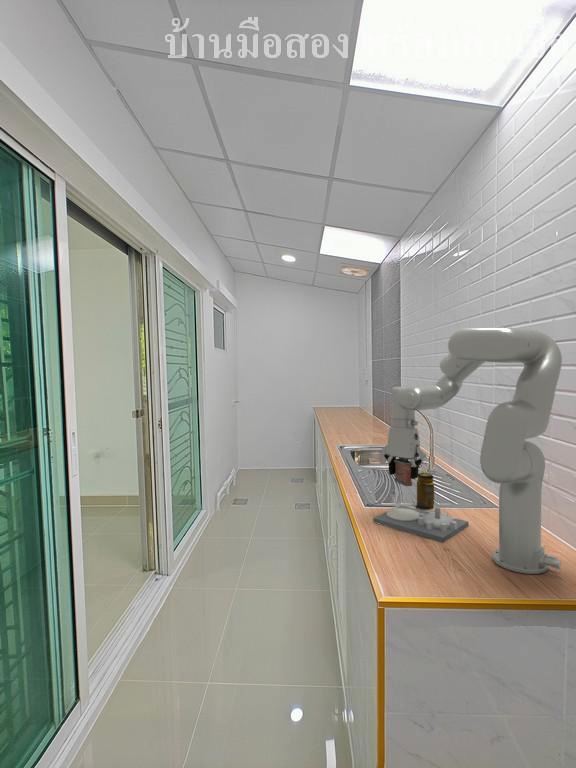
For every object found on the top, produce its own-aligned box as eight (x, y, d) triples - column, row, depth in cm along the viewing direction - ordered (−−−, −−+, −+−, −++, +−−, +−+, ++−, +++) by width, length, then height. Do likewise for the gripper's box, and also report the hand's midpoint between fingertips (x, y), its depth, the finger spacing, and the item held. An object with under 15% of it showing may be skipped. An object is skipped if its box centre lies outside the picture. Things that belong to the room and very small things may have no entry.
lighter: (414, 485, 137) (414, 455, 137) (405, 486, 136) (405, 455, 136) (401, 479, 145) (401, 450, 145) (392, 480, 144) (392, 451, 144)
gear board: (468, 526, 135) (468, 506, 134) (443, 542, 122) (442, 520, 122) (401, 509, 152) (401, 491, 152) (373, 522, 139) (372, 502, 139)
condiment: (433, 504, 157) (433, 472, 157) (437, 511, 149) (437, 478, 149) (413, 503, 159) (413, 471, 158) (416, 510, 150) (416, 477, 150)
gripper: (433, 424, 137) (433, 478, 137) (386, 420, 149) (386, 470, 150) (421, 426, 131) (421, 483, 132) (374, 422, 144) (374, 473, 144)
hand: (403, 475), depth 141 cm, fingers closed on lighter, 7 cm apart
